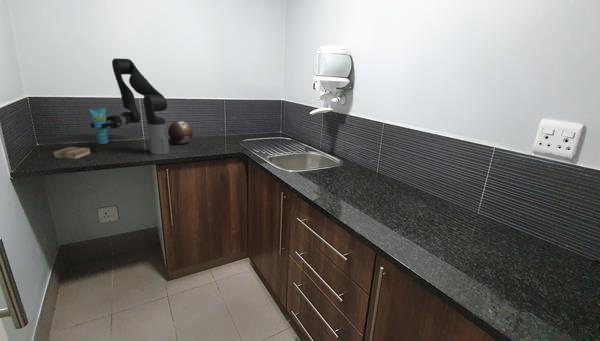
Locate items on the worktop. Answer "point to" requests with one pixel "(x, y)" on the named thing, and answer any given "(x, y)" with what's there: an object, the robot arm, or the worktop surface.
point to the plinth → (71, 152)
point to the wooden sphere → (180, 132)
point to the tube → (99, 124)
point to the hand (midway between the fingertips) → (96, 126)
